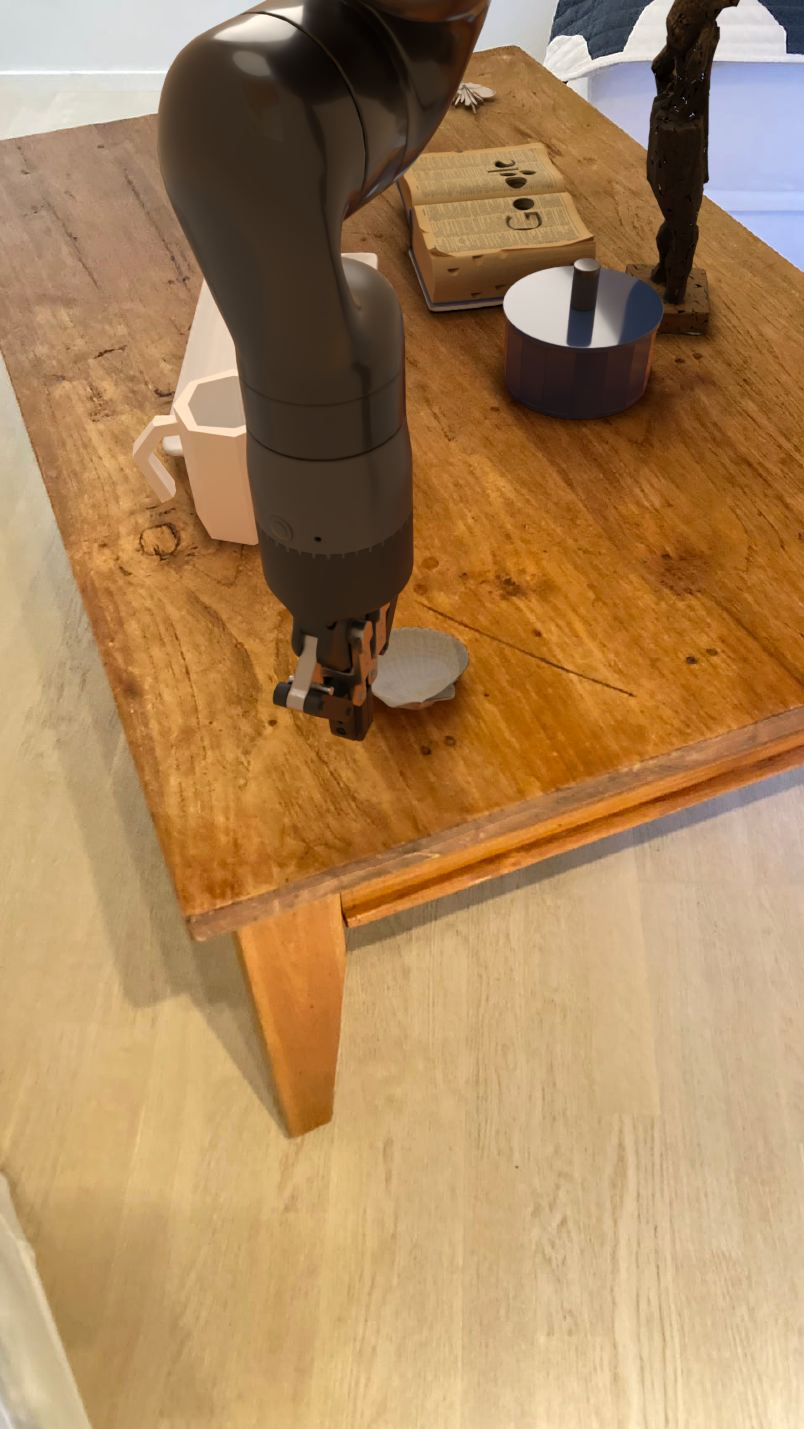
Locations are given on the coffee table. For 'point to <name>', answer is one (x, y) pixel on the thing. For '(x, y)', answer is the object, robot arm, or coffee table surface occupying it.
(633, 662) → the coffee table surface
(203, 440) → the mug
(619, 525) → the coffee table surface
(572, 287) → the pot lid
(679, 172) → the sculpture
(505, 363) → the pot
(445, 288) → the book
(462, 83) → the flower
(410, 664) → the seashell
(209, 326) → the white slab
